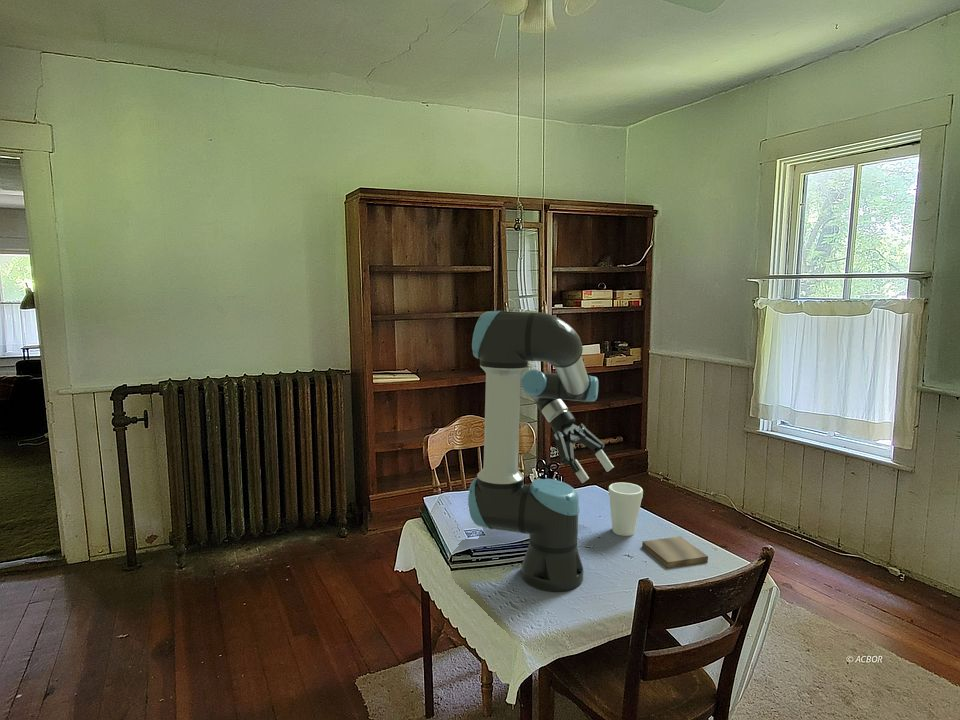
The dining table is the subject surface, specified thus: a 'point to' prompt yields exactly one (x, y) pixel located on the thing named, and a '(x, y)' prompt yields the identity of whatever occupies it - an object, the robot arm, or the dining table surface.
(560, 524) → the robot arm
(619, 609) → the dining table surface
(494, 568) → the dining table surface
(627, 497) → the foam cup
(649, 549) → the walnut coaster
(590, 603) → the dining table surface
